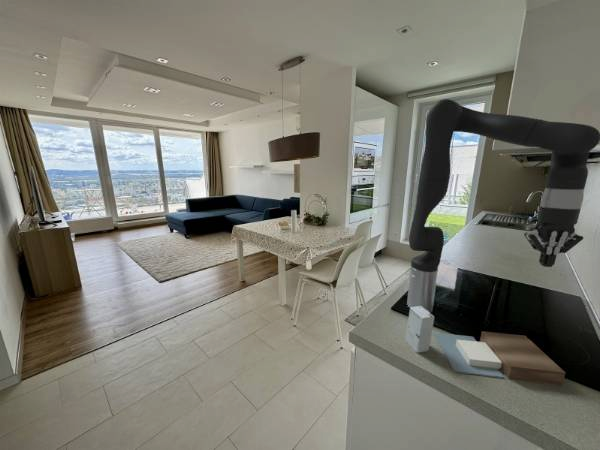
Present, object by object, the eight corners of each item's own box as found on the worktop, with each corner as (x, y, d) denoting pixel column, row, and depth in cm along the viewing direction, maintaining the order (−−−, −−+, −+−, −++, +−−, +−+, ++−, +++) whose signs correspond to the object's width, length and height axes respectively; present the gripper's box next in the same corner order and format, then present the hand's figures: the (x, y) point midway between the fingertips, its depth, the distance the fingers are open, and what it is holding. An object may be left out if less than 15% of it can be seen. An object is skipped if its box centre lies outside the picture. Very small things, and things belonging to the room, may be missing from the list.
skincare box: (404, 340, 78) (408, 306, 75) (417, 338, 79) (420, 305, 76) (417, 353, 72) (421, 318, 69) (430, 351, 73) (435, 316, 70)
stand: (479, 342, 77) (481, 331, 76) (522, 346, 74) (525, 335, 73) (508, 378, 63) (511, 366, 62) (561, 385, 61) (565, 372, 60)
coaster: (455, 345, 75) (456, 339, 74) (484, 347, 74) (485, 342, 73) (468, 365, 67) (469, 359, 67) (500, 368, 66) (502, 362, 65)
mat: (433, 333, 81) (433, 332, 81) (473, 337, 79) (473, 336, 79) (454, 371, 65) (454, 370, 65) (504, 378, 63) (504, 377, 63)
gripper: (576, 204, 67) (561, 262, 71) (521, 203, 69) (510, 259, 73) (604, 208, 60) (586, 273, 63) (542, 207, 62) (528, 269, 66)
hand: (545, 265), depth 68 cm, fingers closed
